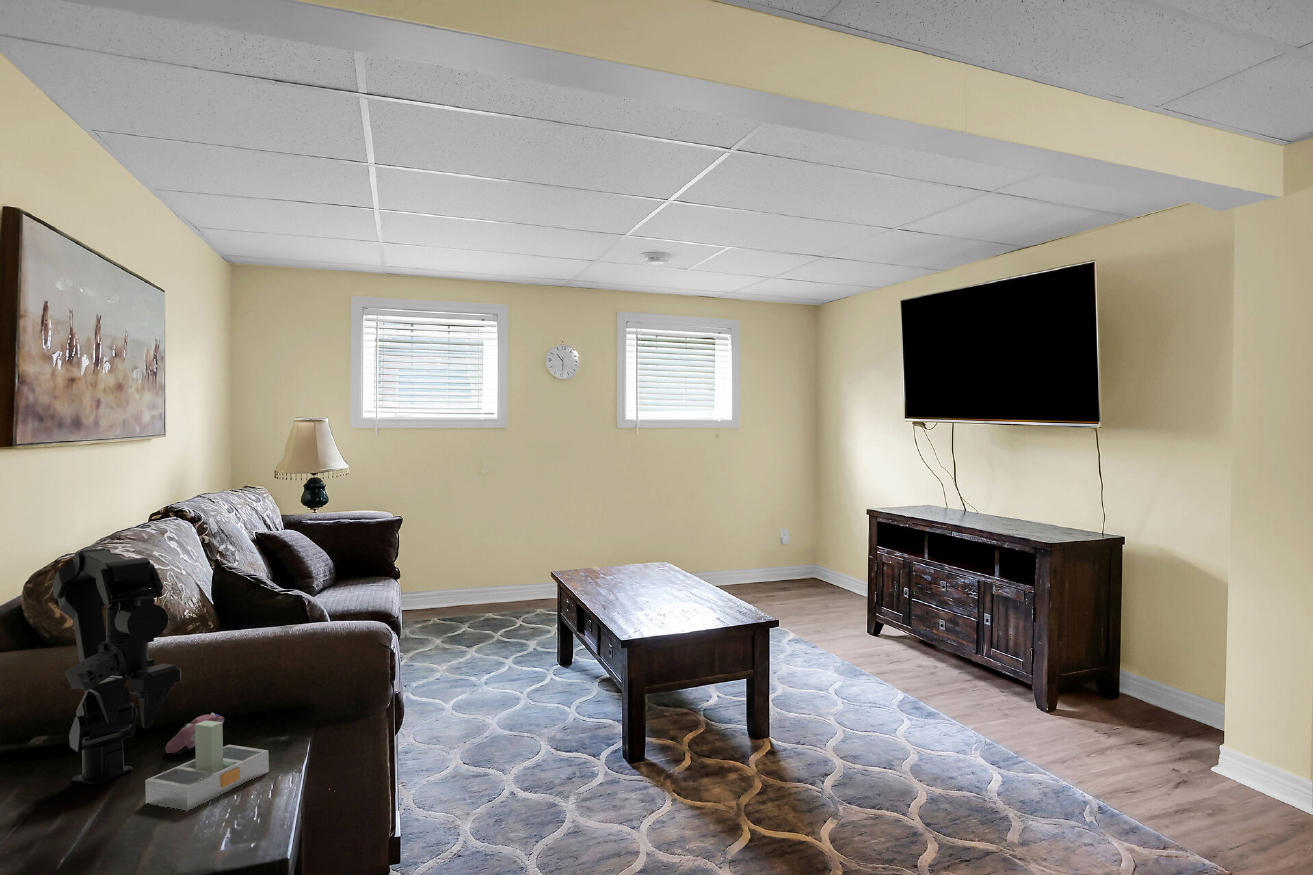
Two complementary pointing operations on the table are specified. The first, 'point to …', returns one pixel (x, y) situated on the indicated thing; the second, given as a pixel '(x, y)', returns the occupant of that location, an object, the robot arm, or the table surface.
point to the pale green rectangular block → (209, 746)
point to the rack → (205, 779)
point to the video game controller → (189, 733)
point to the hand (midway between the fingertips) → (128, 724)
